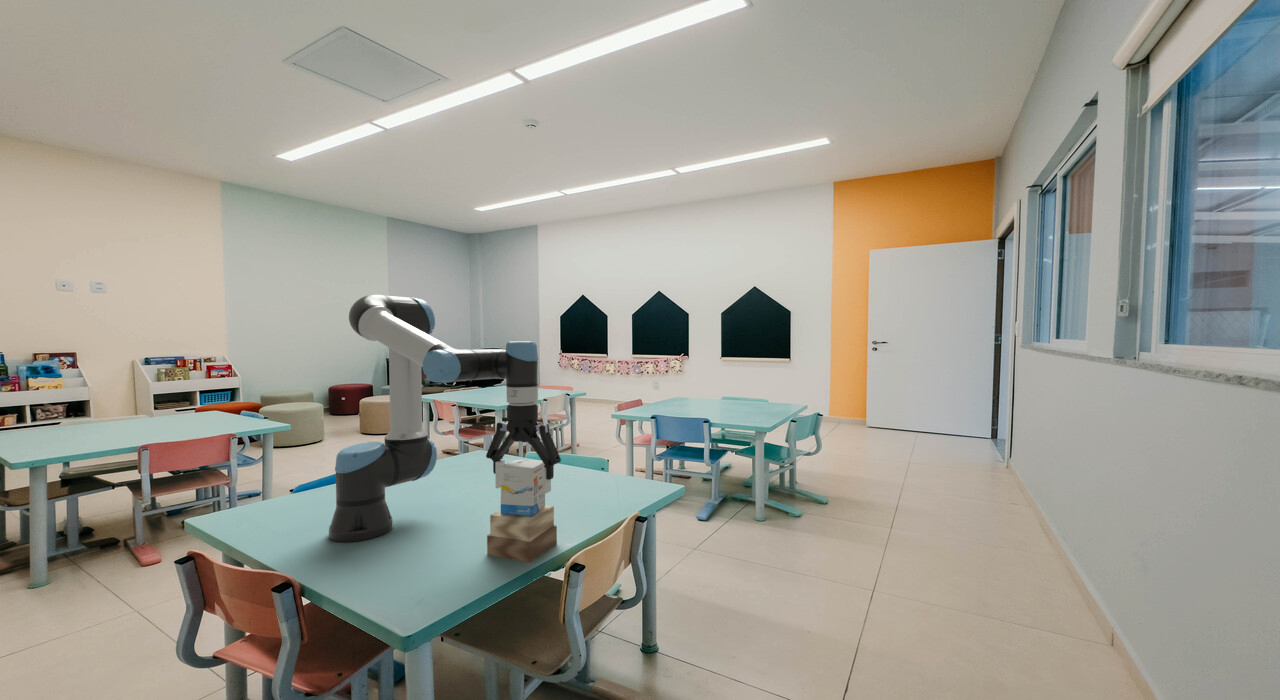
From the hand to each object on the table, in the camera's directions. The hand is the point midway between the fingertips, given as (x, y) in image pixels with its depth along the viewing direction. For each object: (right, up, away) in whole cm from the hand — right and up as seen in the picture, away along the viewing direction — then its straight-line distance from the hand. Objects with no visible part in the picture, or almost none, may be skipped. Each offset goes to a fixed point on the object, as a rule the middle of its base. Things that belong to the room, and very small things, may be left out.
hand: (522, 489), depth 126 cm
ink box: (0, -5, 0) cm, 5 cm away
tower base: (0, -15, 0) cm, 15 cm away
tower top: (0, -10, 0) cm, 10 cm away
